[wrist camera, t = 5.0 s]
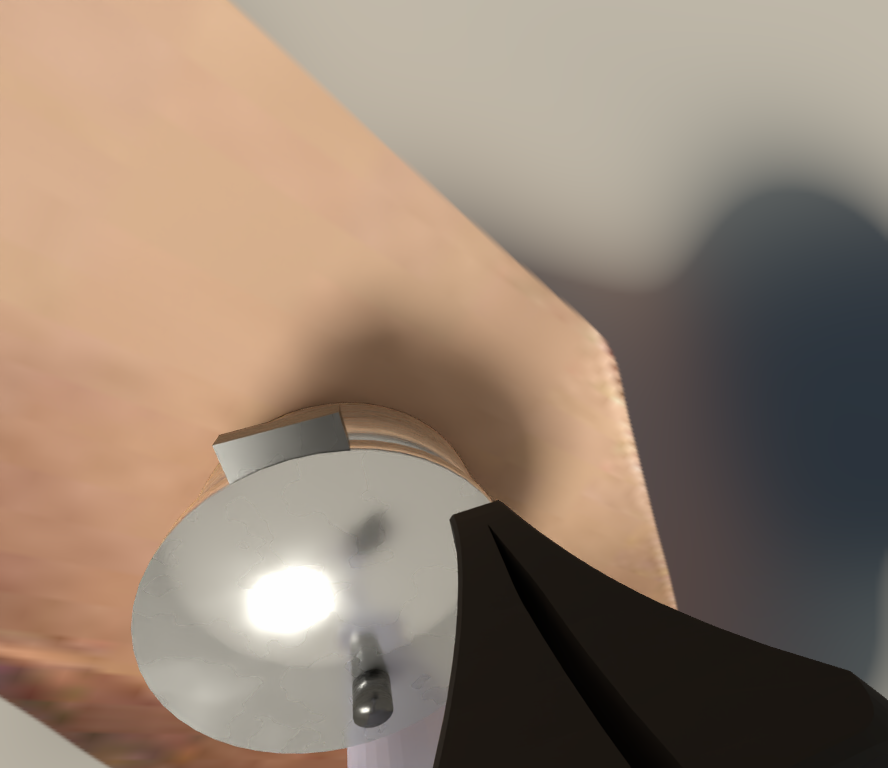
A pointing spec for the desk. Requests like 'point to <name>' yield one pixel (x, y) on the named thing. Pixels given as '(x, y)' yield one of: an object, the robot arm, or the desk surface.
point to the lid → (307, 590)
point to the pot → (378, 433)
